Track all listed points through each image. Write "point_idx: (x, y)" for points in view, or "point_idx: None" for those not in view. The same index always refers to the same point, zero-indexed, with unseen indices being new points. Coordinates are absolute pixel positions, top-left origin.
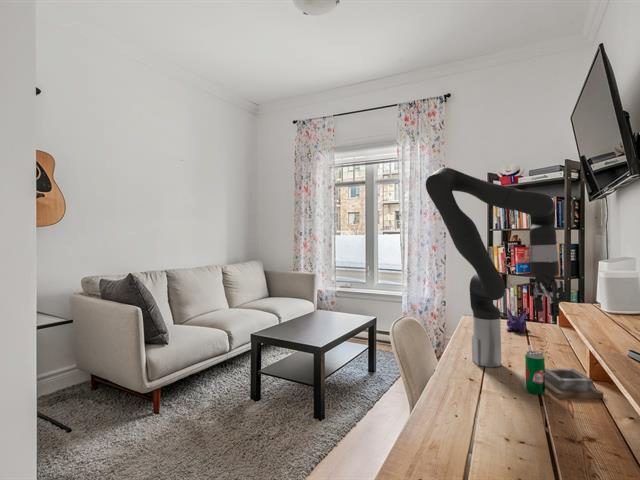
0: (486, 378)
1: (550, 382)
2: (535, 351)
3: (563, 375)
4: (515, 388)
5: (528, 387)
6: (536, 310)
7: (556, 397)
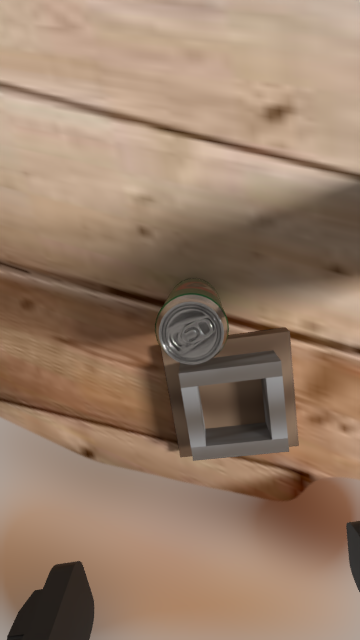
0: (291, 175)
1: (227, 357)
2: (213, 343)
3: (266, 409)
4: (214, 252)
5: (181, 282)
6: (352, 529)
7: None
